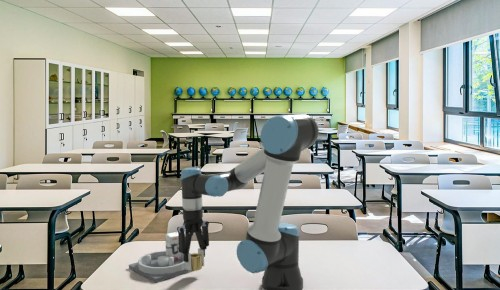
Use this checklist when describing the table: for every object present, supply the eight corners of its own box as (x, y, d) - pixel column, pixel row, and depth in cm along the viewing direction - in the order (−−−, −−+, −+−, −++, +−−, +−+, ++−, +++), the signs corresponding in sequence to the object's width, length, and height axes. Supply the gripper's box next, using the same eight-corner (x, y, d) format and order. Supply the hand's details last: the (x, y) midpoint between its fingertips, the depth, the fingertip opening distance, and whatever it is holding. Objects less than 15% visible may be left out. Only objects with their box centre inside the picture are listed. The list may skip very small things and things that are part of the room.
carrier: (198, 268, 187) (198, 254, 186) (155, 282, 173) (155, 267, 173) (170, 256, 201) (170, 242, 201) (128, 268, 188) (128, 254, 187)
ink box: (170, 264, 191) (169, 236, 190) (165, 261, 195) (165, 233, 194) (189, 260, 196) (188, 233, 194) (184, 257, 200) (183, 230, 199)
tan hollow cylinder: (204, 268, 179) (204, 255, 178) (193, 271, 175) (192, 259, 174) (196, 264, 182) (195, 252, 182) (184, 268, 179) (184, 255, 178)
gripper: (205, 202, 185) (207, 259, 187) (166, 211, 173) (169, 271, 175) (217, 205, 180) (219, 263, 182) (178, 214, 167) (180, 276, 169)
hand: (195, 267), depth 178 cm, fingers closed on tan hollow cylinder, 5 cm apart
